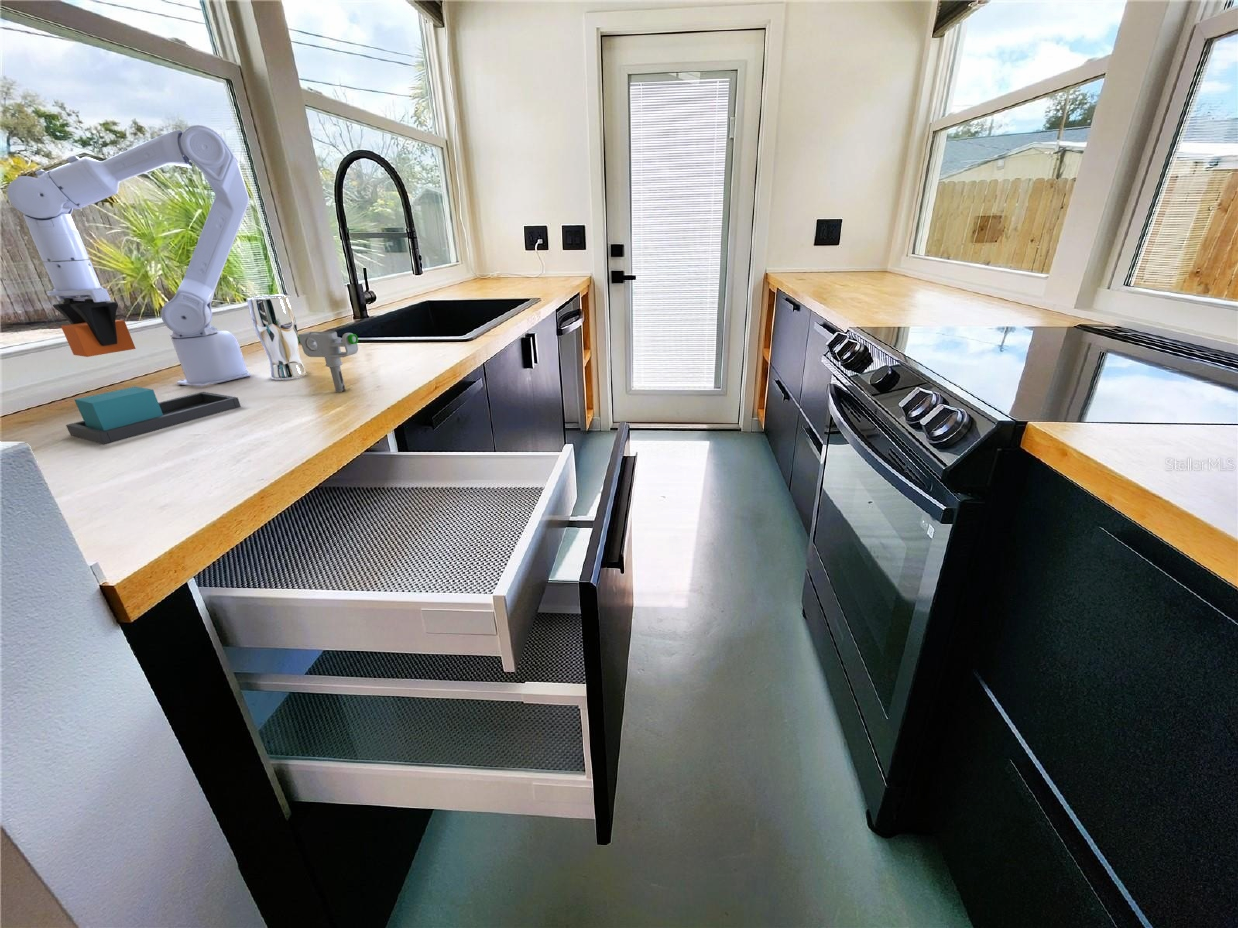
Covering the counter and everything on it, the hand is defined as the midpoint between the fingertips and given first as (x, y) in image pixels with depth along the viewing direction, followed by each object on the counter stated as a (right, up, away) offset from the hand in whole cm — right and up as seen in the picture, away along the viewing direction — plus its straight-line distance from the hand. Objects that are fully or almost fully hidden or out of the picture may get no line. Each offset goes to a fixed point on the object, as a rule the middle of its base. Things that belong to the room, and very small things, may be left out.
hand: (101, 343), depth 94 cm
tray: (+23, -15, -14) cm, 31 cm away
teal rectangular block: (+21, -16, -18) cm, 32 cm away
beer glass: (+26, -4, +11) cm, 29 cm away
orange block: (0, -1, +1) cm, 1 cm away
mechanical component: (+42, -9, -1) cm, 43 cm away
